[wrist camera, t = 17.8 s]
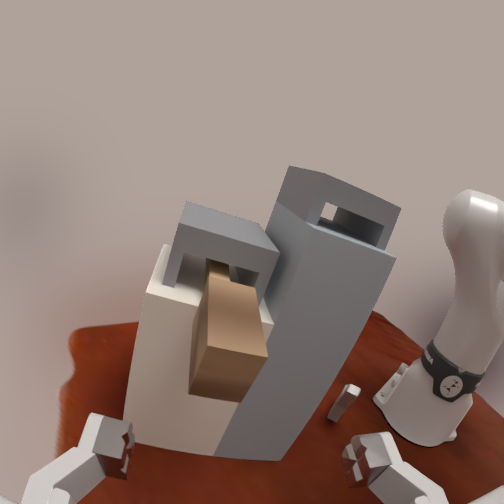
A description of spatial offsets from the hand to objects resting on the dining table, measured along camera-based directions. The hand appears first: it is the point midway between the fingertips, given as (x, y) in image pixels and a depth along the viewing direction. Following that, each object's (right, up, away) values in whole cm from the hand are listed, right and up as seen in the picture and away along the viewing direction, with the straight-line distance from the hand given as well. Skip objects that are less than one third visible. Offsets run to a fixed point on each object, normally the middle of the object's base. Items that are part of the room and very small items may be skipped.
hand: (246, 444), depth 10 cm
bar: (-3, +3, +14) cm, 14 cm away
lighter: (+12, -18, +31) cm, 38 cm away
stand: (-6, -13, +24) cm, 28 cm away
